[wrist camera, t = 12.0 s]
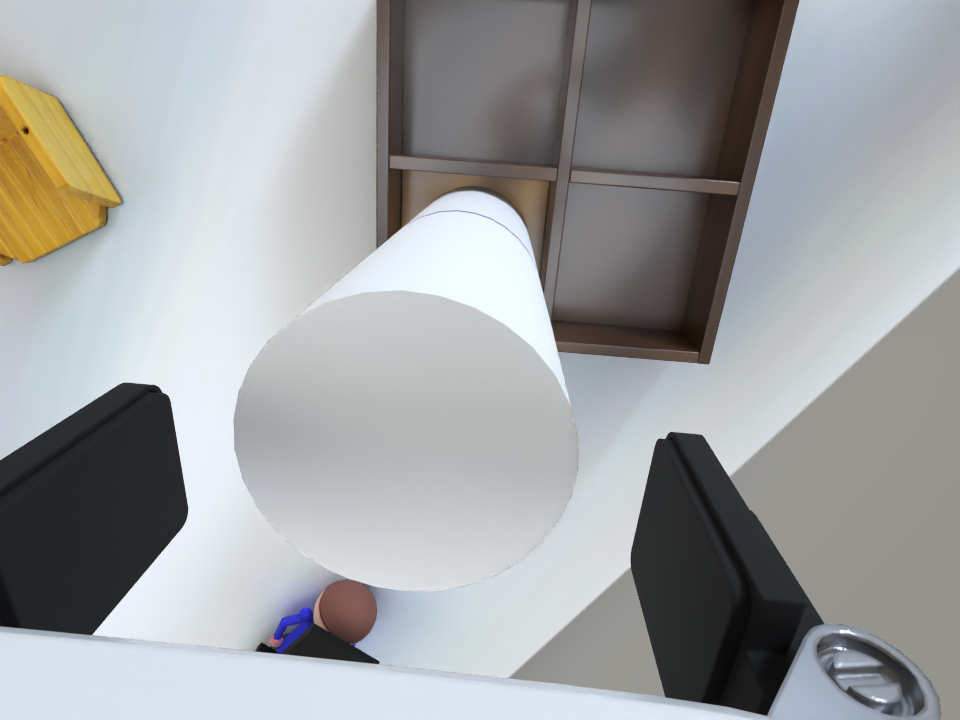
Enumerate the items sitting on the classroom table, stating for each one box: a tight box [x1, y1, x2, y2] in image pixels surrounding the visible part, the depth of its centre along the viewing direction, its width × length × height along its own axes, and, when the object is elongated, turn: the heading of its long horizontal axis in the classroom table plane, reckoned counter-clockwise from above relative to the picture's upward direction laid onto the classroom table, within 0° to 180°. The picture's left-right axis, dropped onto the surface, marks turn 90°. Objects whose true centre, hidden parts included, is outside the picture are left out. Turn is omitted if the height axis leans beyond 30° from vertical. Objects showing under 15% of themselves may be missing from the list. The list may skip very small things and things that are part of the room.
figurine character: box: [256, 580, 379, 664], centre depth 45 cm, size 7×8×15 cm
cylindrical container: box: [234, 186, 578, 591], centre depth 23 cm, size 7×7×25 cm
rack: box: [376, 0, 799, 364], centre depth 31 cm, size 20×20×5 cm
